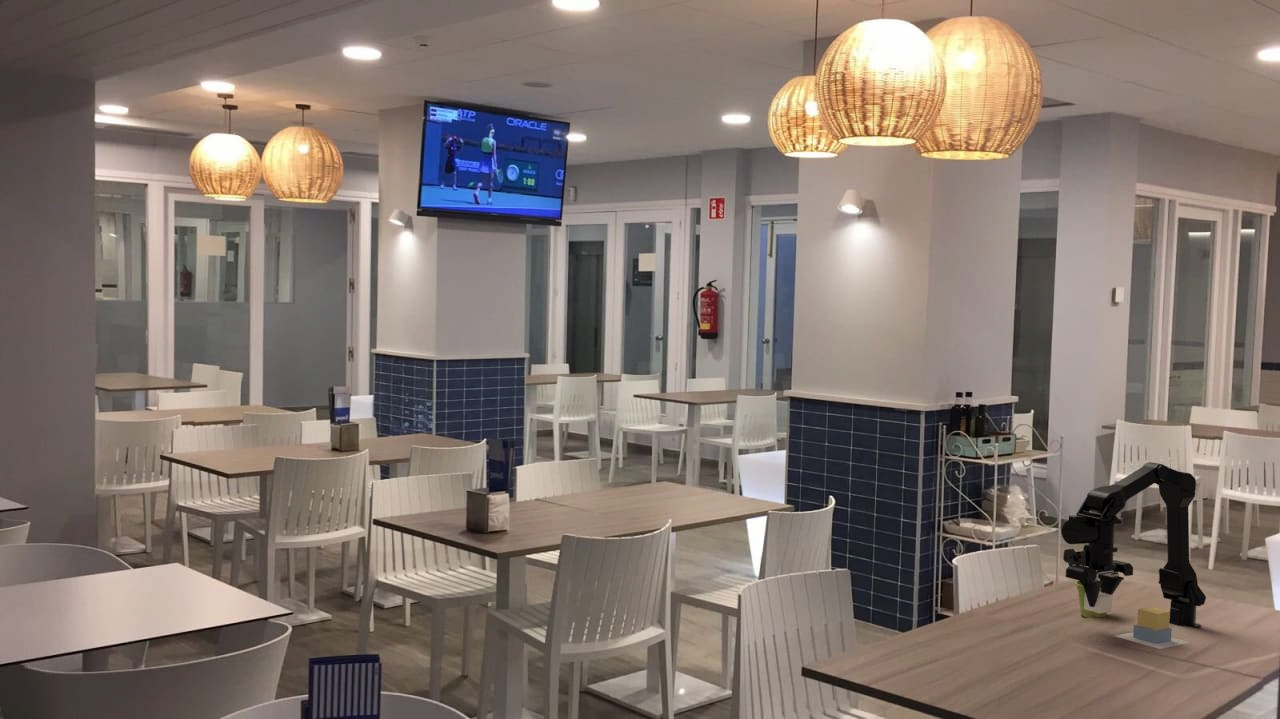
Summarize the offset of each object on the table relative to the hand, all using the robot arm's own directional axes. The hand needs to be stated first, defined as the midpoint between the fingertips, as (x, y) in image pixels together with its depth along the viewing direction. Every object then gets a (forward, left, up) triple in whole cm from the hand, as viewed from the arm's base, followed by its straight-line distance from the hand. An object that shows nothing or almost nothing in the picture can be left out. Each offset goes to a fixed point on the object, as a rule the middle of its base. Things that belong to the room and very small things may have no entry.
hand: (1098, 605), depth 278 cm
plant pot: (-15, -12, -8) cm, 21 cm away
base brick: (-7, +10, -6) cm, 14 cm away
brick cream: (0, 0, -1) cm, 1 cm away
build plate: (-7, +10, -7) cm, 14 cm away
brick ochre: (-7, +10, -4) cm, 13 cm away
